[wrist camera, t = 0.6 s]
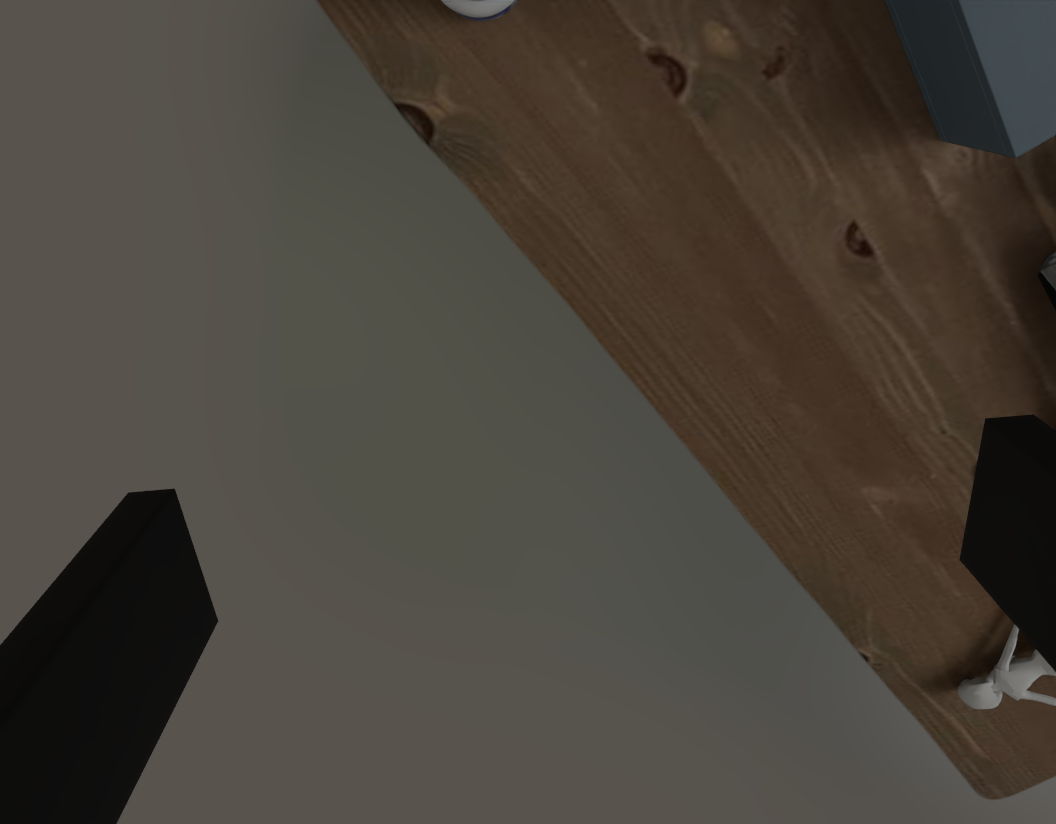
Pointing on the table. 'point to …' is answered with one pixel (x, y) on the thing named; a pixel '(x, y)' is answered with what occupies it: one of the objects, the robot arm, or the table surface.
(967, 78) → the cabinet
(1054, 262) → the grey spaceship model
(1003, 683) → the woman figurine
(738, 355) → the table surface
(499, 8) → the pill bottle
